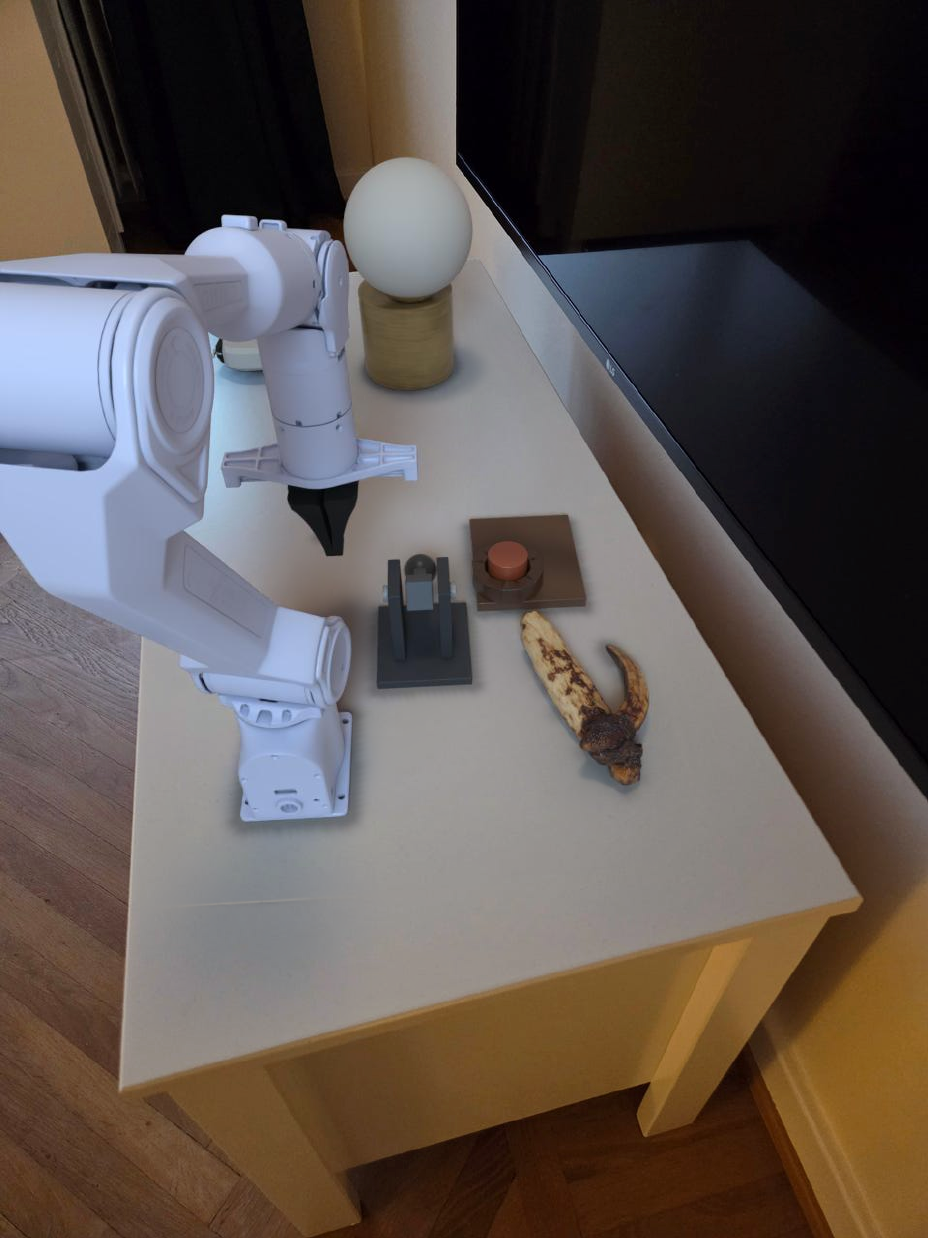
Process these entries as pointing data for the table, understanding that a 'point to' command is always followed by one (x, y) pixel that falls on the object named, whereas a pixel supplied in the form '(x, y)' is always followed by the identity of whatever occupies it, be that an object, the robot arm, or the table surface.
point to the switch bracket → (422, 636)
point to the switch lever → (419, 582)
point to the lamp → (407, 268)
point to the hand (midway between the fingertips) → (335, 548)
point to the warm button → (507, 561)
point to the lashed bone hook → (590, 699)
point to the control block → (528, 564)
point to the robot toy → (238, 354)
